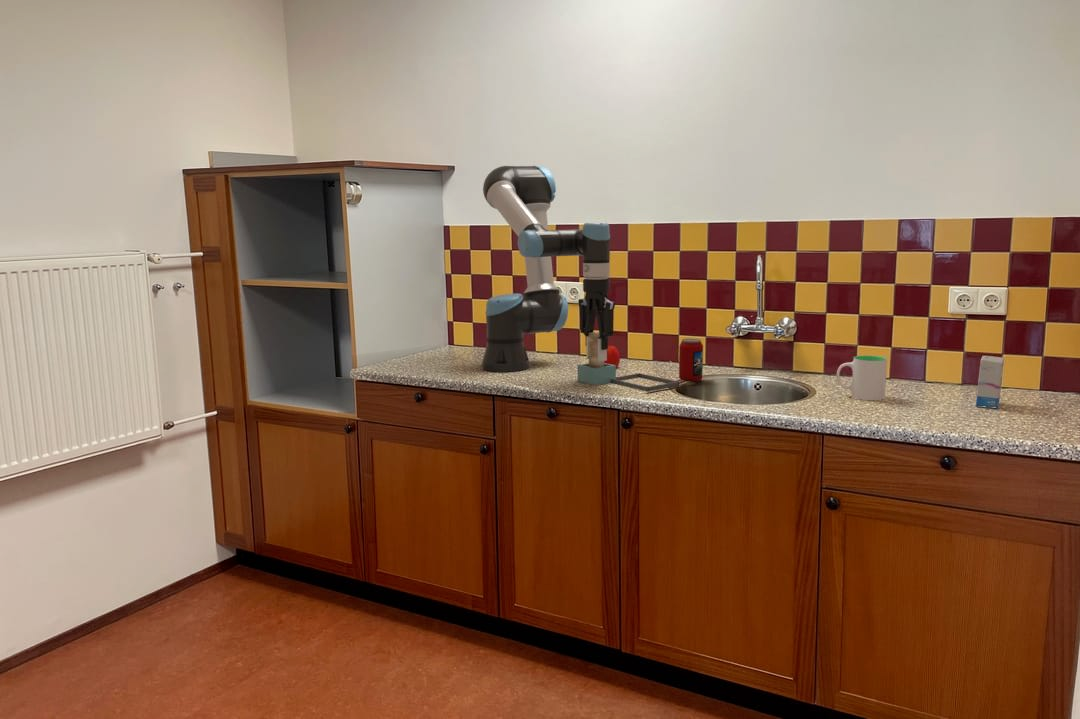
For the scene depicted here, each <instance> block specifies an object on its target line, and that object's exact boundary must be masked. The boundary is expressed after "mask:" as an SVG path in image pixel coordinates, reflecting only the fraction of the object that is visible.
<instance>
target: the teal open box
mask: <svg viewBox="0 0 1080 719" xmlns="http://www.w3.org/2000/svg"><path fill="white" fill-rule="evenodd" d="M576 368H577V382H580V383H583V384H588V385H592V386H598V385H606V384H610V383H611V379H615V380H616V377H617V376H616V375H617V368H616V365H611V364H606V363H604V367H599V368H592V367H589V362H588V363H581V364H577V367H576ZM611 384H612V383H611Z"/></svg>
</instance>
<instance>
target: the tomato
mask: <svg viewBox="0 0 1080 719" xmlns="http://www.w3.org/2000/svg"><path fill="white" fill-rule="evenodd" d="M620 356H621V354H620V352H619V350H618V349H617V347H616V346H615V345H608V349H607V360H606V361H604V363H606V364H611V365H616V369H617V368H618V367H619V365H620V363H621V357H620Z"/></svg>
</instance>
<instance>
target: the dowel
mask: <svg viewBox="0 0 1080 719" xmlns="http://www.w3.org/2000/svg"><path fill="white" fill-rule="evenodd" d="M603 334H604V333H603ZM598 337H600V335H599V331H594V332H590V333H589V359H588V363H589V367H592V368H599V367H604V361H600V362H599V361H598Z"/></svg>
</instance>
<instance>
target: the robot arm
mask: <svg viewBox="0 0 1080 719" xmlns="http://www.w3.org/2000/svg"><path fill="white" fill-rule="evenodd" d="M482 185H483V186H482V191H483V192H482V193H483V196H484V199H485V201H486V202H487V203H488V205H489V206H490V207H491V208H492V209H495V210H497V211H498V213H500V215H501V216H502V218H503V219H504V220H505V222H506V223H507V224H508V225H509V227H510V228H511V229H512V231H513V232H514V233H515V234H516V235H517V237H518V238H517V248H518V250H519V251H518V252H519V254H520V255H521V256H522V257H524V264H525V273H526V283H527V287H526V289H525V290H524V292H523V294H522V293H506V294H499V295H496V296H492V297H490V298H488V299H487V301H486V303H485V304H486V307H485V308H486V309H485V320H486V321H485V322H486V346H485V351H484V353H483V358H482V359H481V360H482V362H481V367H482V368H481V369H482V370H484V371H489V372H496V373H498V372H499V373H503V372H504V373H508V372H519V371H523V370H524V371H525V370H527V369H529V368H530V360H529V357H528V352H527V351H526V347H525V345H524V335H525V334H527V335H528V334H529V335H530V334H537V333H538V334H539V333H541V334H542V333H551V332H557V331H560V330H562V329H563V327H564V326H565V324H566V322H567V319H568V316H569V315H568V314H569V304H568V300H567V297H565V296H564V295H563V294H560V288H558V286H556V285H555V282H554V273H553V265H552V264H553V261H552V257H571V256H574V257H577V256H578V257H579V256H582V275H583V277H584V279H583V280H582V291H583V292H584V293H585V295H584V297H583V298H578V301H577V302H578V306H579V332H580V334H583V335H584V337H585V347H586V352H585V353H586V354H585V355H586V356H585V358H586V360H589V333H590V332H595V330H594V329H595V326H596V325H595V324H596V320H597V329H598V332H599V335H600V337H598V361H599V362H600V361H606V360H607V349H608V346H609V338H611V337H613V336H614V318H615V314H614V313H615V312H614V311H615V306H616V302H615V301H610V300H609V297H608V293H609V292H610V291H611V288H610V287H611V280H610V279H609V277H611V276H610V275H611V262H610V260H611V258H610V257H611V256H610V255H611V254H610V253H611V234H610V225H609V223H608V222H585V223H584V224H583V225H582V228H581V229H580V228H571V229H549V225H548V224H549V223H548V214H547V211H548V210H550V207H551V203H552V202H553V201H554V200H555V198H556V191H557V189H556V188H557V187H556V181H555V177H554V175H553V174H552V171H550V170H549V169H548V168H547V167H545V166H537V165H527V166H526V165H524V166H523V165H519V166H516V165H501V166H499V167H495V168H494V169H493V170H491V171H490V172H489V173H488V174H487V176H486V177H485V179H484V182H483V184H482ZM603 333H604V334H603Z"/></svg>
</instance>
